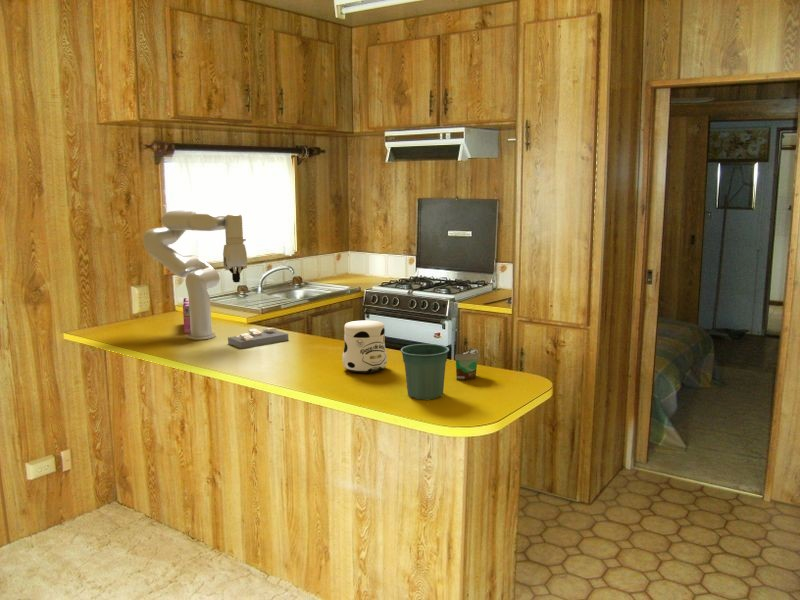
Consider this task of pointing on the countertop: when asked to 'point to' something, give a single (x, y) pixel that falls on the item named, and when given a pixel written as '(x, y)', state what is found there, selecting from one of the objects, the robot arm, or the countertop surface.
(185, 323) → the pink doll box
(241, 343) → the switch panel
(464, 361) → the food container
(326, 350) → the countertop surface
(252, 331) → the rocker mid
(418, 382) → the flower pot
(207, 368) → the countertop surface
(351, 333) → the milk container
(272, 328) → the rocker far
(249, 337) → the rocker near
